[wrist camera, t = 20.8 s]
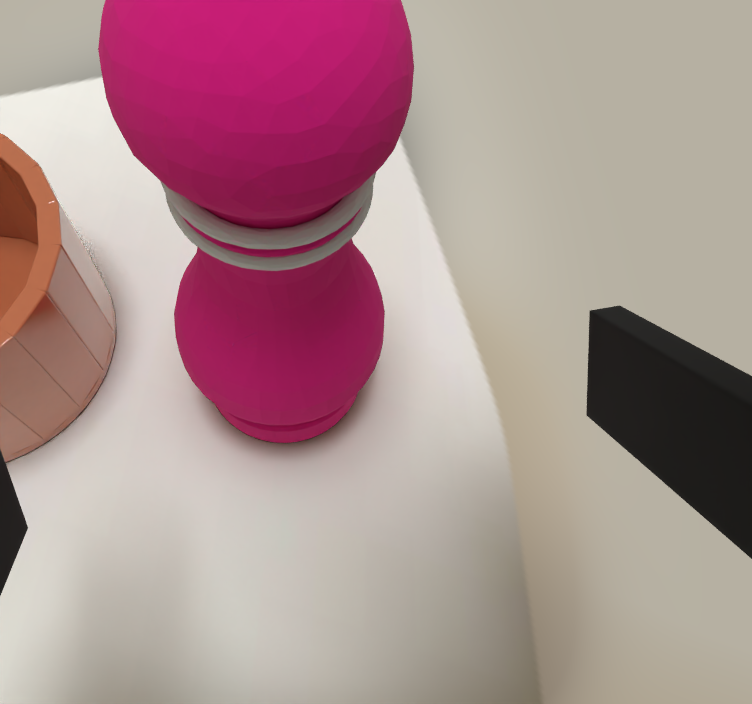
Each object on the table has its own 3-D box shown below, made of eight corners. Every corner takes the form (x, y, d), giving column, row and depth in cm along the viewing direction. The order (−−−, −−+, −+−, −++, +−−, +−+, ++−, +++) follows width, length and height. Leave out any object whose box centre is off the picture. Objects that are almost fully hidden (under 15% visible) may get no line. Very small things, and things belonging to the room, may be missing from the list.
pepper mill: (157, 382, 27) (-150, -162, 9) (274, 262, 30) (224, -344, 12) (297, 493, 26) (274, 124, 8) (407, 358, 29) (583, -155, 10)
